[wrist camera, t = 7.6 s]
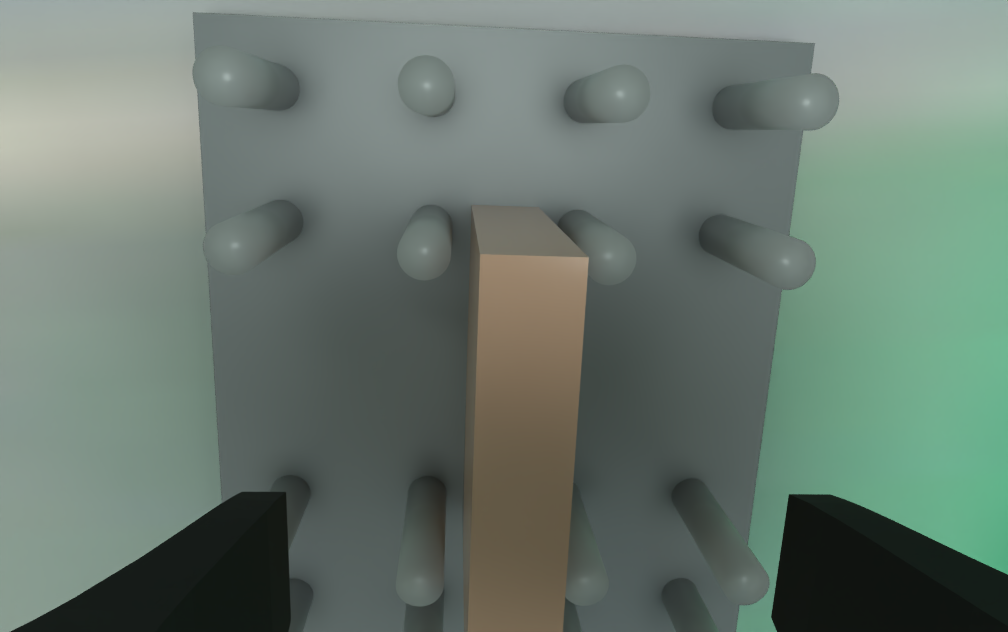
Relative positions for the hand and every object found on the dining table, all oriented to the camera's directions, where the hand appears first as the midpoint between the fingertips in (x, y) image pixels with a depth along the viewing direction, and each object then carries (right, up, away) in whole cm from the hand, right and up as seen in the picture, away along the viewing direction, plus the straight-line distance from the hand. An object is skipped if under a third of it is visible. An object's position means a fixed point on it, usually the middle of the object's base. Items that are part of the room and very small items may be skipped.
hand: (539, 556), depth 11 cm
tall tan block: (-1, +2, +8) cm, 8 cm away
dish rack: (-1, +2, +9) cm, 9 cm away
